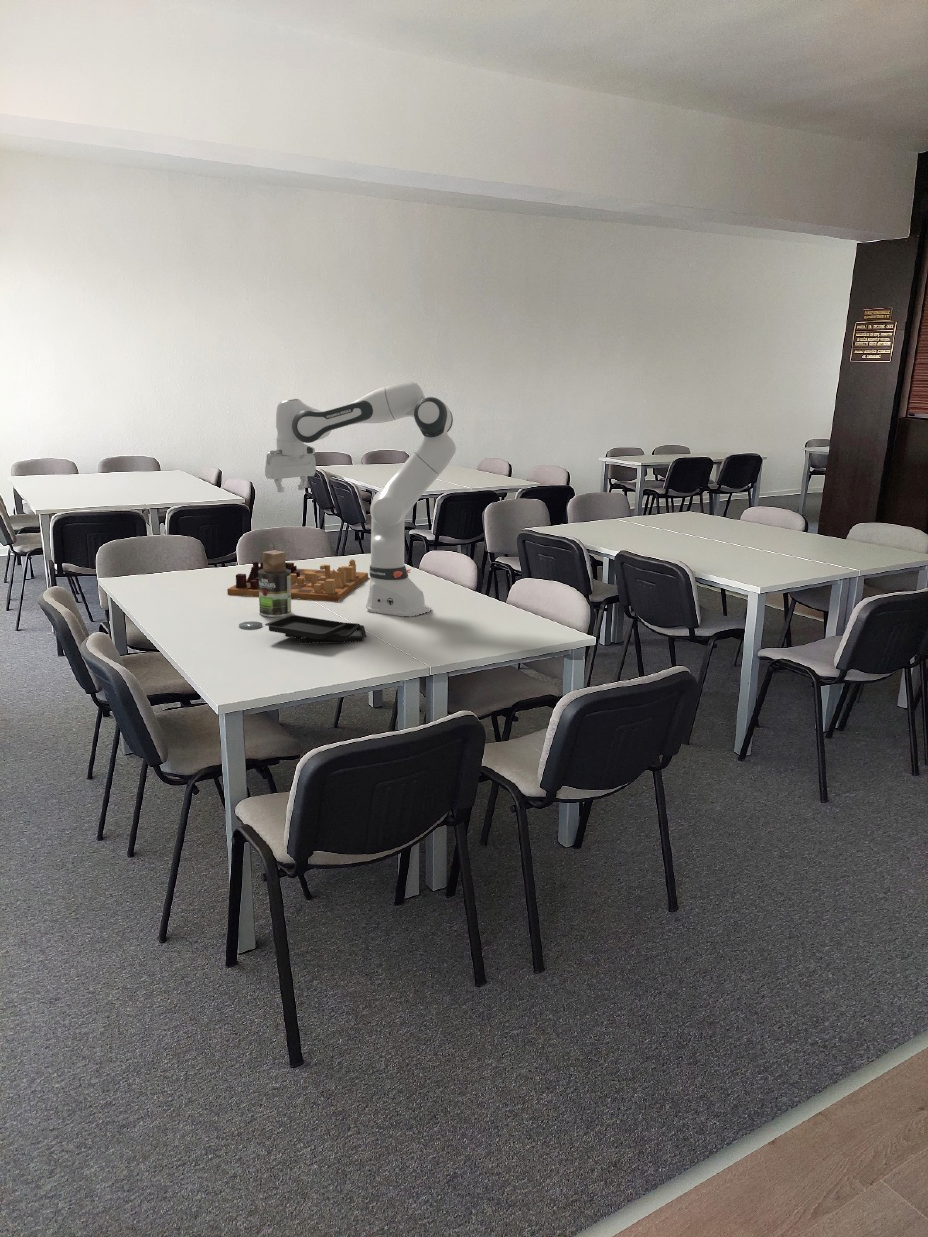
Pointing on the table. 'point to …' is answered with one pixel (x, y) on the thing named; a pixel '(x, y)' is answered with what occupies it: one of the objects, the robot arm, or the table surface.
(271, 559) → the walnut block
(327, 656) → the table surface
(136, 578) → the table surface
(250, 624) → the slate coaster
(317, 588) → the gameboard
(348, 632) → the tray
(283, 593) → the coffee can
